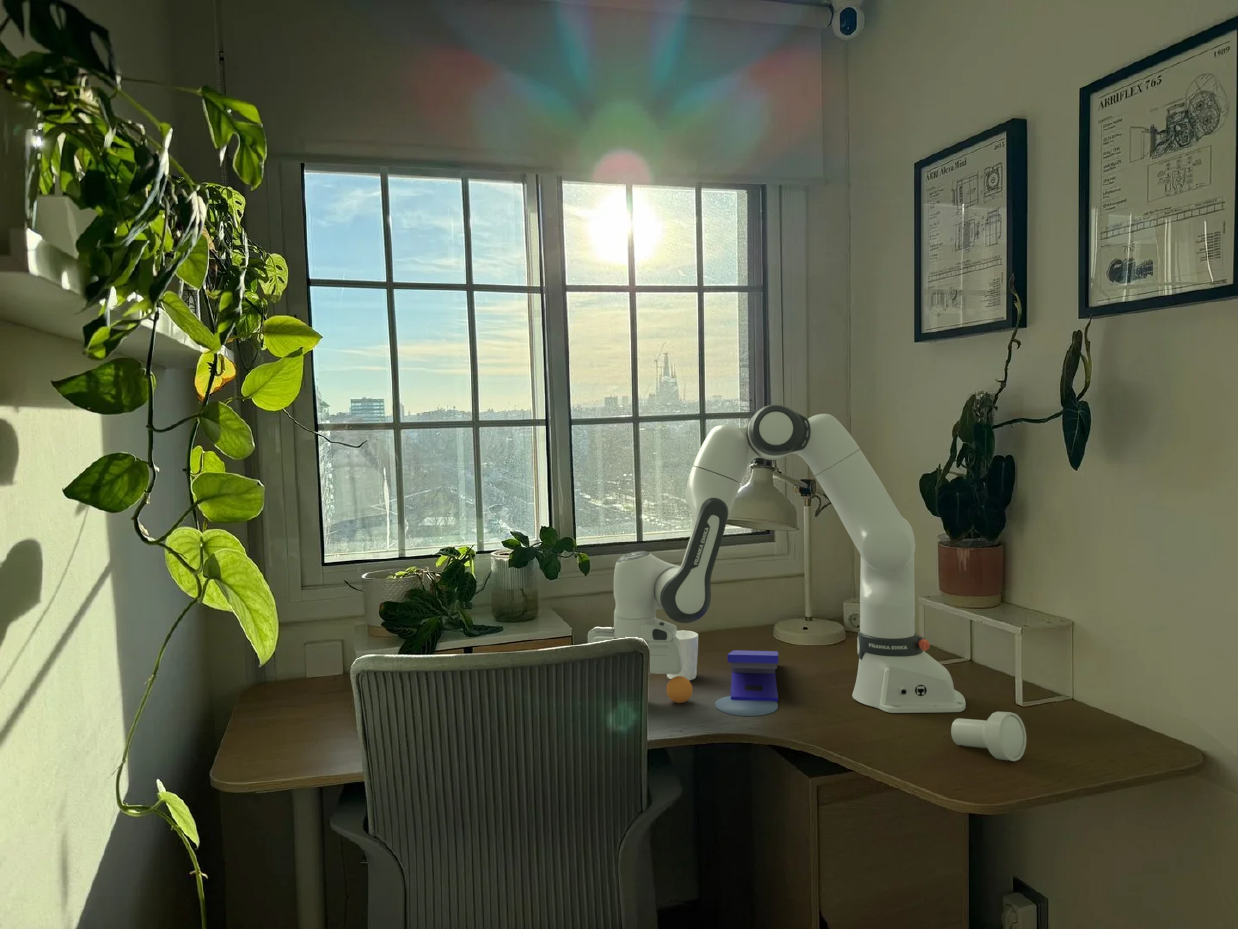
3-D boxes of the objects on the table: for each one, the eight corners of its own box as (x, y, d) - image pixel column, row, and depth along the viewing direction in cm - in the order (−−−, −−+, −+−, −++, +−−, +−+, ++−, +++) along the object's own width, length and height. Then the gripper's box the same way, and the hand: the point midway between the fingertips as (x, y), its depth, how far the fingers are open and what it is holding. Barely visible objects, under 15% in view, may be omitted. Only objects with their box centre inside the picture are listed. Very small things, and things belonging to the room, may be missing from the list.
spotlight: (1004, 762, 146) (1000, 712, 148) (945, 755, 155) (942, 709, 157) (1031, 760, 151) (1027, 712, 152) (972, 754, 160) (969, 708, 162)
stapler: (727, 702, 185) (727, 656, 184) (729, 665, 212) (729, 625, 212) (782, 704, 183) (782, 658, 182) (777, 666, 211) (777, 626, 210)
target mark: (778, 697, 186) (778, 696, 186) (777, 718, 173) (777, 717, 173) (718, 694, 189) (718, 693, 189) (711, 714, 176) (711, 713, 176)
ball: (694, 698, 186) (693, 673, 186) (690, 707, 181) (690, 681, 180) (668, 697, 187) (668, 672, 187) (664, 706, 182) (664, 680, 181)
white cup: (698, 672, 205) (698, 630, 205) (698, 682, 198) (698, 639, 197) (665, 672, 206) (664, 630, 206) (663, 682, 198) (663, 638, 198)
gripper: (583, 630, 184) (585, 694, 185) (679, 633, 180) (680, 699, 181) (590, 623, 190) (592, 685, 191) (683, 626, 186) (684, 689, 187)
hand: (635, 692), depth 186 cm, fingers closed
